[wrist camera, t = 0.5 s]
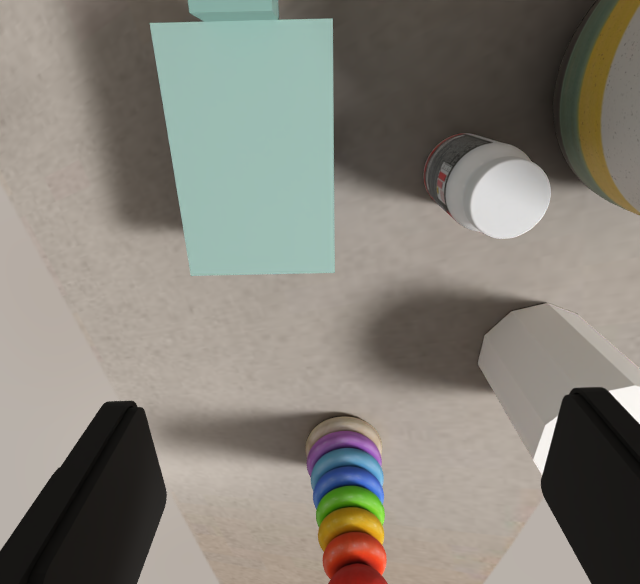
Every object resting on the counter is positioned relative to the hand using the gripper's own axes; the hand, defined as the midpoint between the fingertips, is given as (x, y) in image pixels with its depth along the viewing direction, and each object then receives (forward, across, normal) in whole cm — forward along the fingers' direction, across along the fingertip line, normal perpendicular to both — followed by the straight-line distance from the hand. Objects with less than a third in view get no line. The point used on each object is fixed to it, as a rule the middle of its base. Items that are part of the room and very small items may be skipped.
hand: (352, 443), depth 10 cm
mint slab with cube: (+21, +5, -5) cm, 22 cm away
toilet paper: (+27, -19, +16) cm, 37 cm away
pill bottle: (+27, -10, -1) cm, 29 cm away
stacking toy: (+27, -1, +27) cm, 38 cm away
